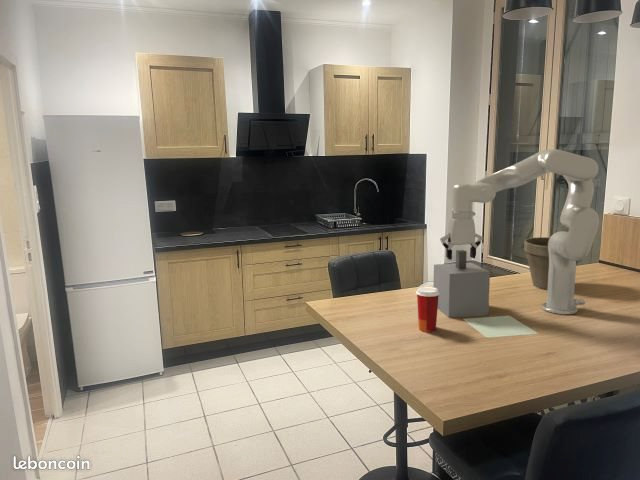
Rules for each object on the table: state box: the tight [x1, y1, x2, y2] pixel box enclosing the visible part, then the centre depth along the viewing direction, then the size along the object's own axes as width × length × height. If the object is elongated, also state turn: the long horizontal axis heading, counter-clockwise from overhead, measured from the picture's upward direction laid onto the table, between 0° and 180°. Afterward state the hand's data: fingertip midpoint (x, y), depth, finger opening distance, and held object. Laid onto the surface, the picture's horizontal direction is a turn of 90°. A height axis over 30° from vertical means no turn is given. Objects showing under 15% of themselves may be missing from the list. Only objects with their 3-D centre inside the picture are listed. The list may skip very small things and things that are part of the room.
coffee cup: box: [415, 286, 440, 333], centre depth 164 cm, size 8×8×15 cm
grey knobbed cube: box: [433, 249, 491, 319], centre depth 182 cm, size 16×16×25 cm
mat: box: [462, 315, 539, 339], centre depth 166 cm, size 19×19×1 cm
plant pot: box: [523, 236, 579, 291], centre depth 213 cm, size 25×25×22 cm
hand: (461, 258), depth 181 cm, fingers open, 9 cm apart
